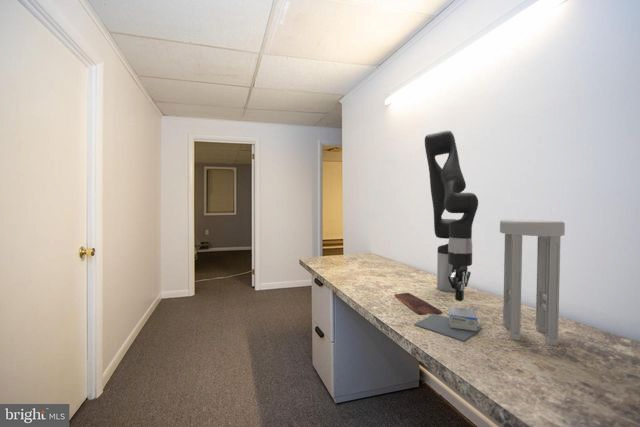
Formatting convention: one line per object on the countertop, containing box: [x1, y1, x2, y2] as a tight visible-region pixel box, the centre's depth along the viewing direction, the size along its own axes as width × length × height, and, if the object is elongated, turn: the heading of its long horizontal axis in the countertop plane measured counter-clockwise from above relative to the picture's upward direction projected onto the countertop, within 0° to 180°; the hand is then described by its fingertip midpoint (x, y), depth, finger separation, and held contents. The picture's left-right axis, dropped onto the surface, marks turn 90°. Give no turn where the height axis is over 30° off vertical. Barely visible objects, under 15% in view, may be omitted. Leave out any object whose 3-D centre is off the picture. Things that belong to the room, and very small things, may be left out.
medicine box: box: [448, 306, 479, 331], centre depth 97 cm, size 8×4×9 cm
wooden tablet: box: [394, 292, 443, 316], centre depth 120 cm, size 26×2×10 cm
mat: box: [414, 314, 483, 343], centre depth 96 cm, size 14×16×1 cm
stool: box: [499, 219, 566, 346], centre depth 90 cm, size 16×16×35 cm
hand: (459, 300), depth 102 cm, fingers closed
